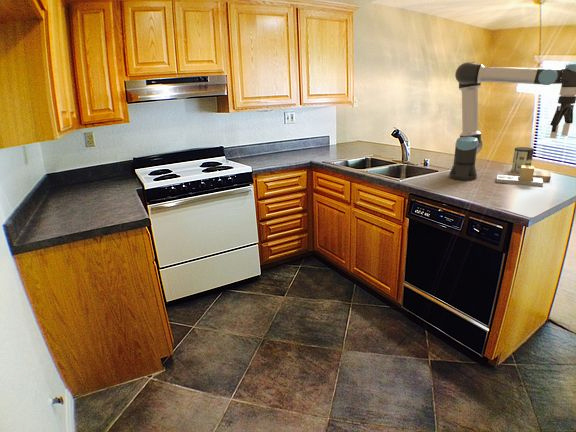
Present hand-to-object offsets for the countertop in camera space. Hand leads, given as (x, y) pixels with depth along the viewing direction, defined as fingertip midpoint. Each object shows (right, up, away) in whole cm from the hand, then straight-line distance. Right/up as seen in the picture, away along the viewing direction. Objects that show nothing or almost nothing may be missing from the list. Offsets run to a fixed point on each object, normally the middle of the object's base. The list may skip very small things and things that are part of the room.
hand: (558, 136), depth 202 cm
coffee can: (-1, -15, +32) cm, 35 cm away
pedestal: (-3, -21, +14) cm, 25 cm away
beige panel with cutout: (-17, -24, +8) cm, 30 cm away
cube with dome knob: (-14, -24, +6) cm, 29 cm away
